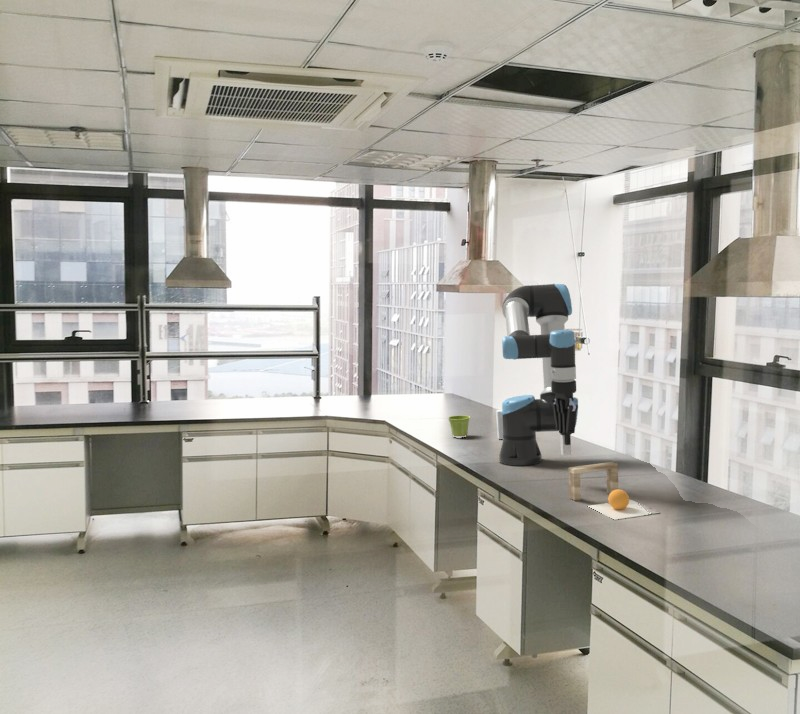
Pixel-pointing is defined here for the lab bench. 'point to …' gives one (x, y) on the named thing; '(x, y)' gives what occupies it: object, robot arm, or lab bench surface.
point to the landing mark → (627, 512)
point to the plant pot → (459, 425)
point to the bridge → (575, 471)
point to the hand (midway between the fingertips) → (565, 454)
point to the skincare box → (499, 424)
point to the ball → (618, 499)
